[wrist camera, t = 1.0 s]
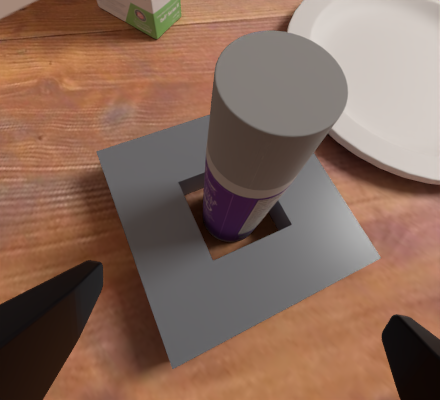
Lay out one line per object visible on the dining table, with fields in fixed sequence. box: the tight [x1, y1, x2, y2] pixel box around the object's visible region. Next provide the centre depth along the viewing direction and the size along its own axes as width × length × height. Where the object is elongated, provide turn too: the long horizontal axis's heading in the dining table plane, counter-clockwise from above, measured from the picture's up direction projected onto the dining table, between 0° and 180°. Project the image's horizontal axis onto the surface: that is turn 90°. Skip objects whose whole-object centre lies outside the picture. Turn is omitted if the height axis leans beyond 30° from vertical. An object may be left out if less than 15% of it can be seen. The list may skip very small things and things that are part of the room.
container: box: [203, 31, 348, 242], centre depth 16 cm, size 5×5×15 cm
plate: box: [287, 0, 440, 185], centre depth 29 cm, size 28×28×2 cm
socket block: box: [97, 115, 381, 369], centre depth 21 cm, size 16×16×3 cm
